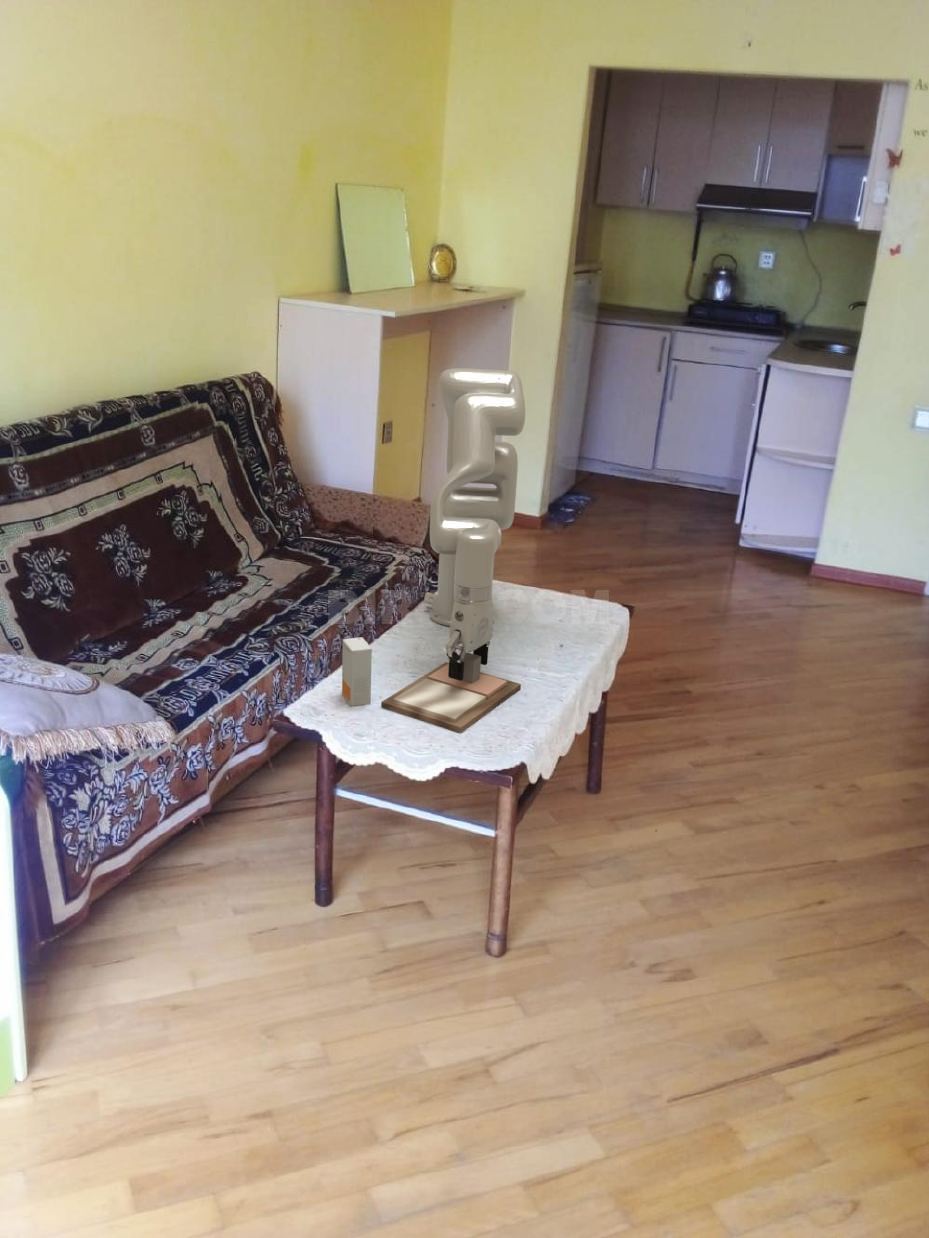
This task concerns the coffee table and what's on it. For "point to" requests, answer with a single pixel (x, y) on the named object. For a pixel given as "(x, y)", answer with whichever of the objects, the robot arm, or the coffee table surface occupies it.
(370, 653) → the skincare box
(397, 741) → the coffee table surface
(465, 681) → the peach lid with handle
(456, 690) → the board
